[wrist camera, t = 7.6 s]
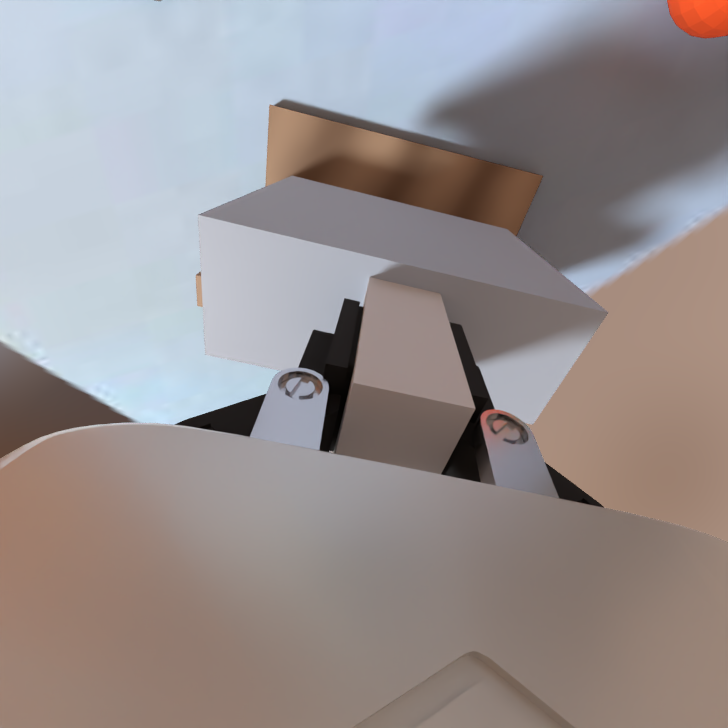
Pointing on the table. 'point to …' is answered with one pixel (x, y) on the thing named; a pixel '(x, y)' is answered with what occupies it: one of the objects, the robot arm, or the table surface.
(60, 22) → the table surface
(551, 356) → the white box with handle
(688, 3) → the clementine
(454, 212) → the wooden stand
